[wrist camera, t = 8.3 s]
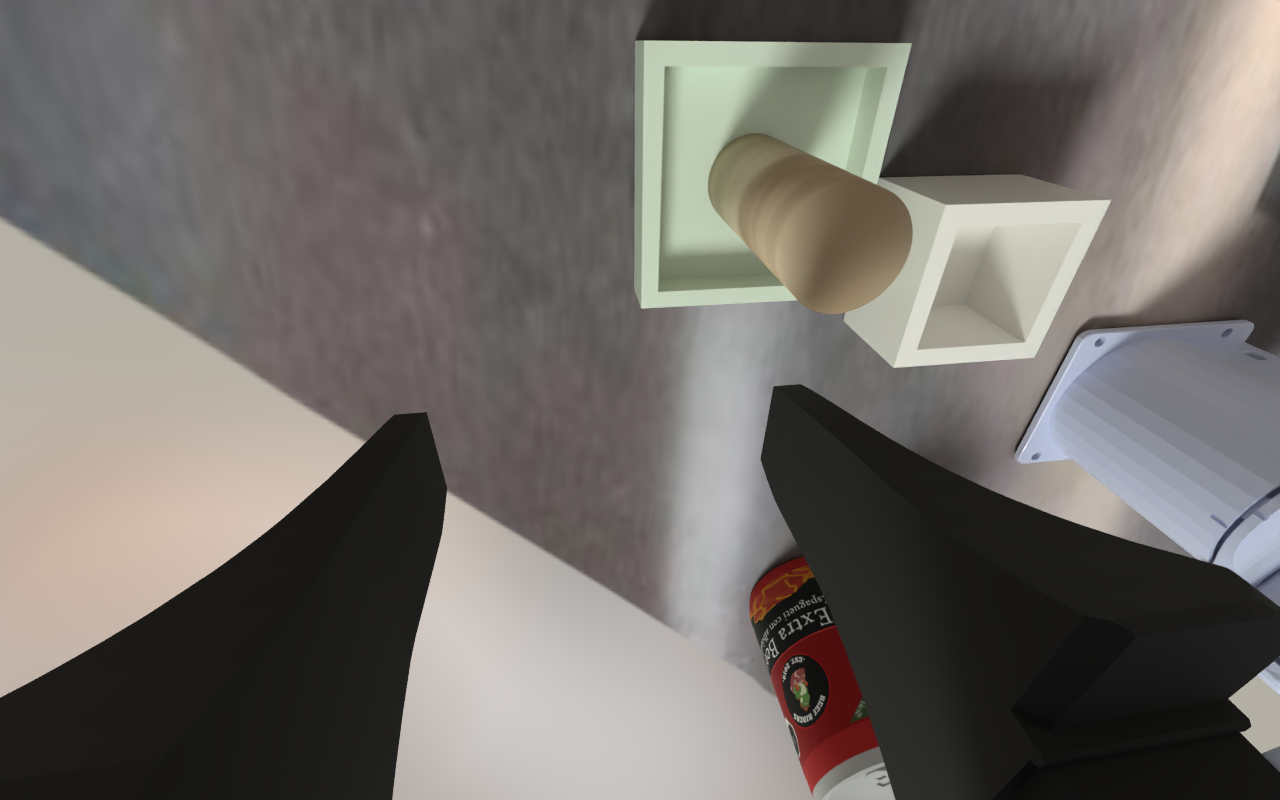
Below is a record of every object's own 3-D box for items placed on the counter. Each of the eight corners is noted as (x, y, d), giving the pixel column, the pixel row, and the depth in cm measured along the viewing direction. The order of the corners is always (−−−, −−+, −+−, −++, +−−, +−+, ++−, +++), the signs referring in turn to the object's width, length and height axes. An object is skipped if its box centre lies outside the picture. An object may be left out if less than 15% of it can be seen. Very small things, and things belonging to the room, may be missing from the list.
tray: (880, 43, 17) (912, 43, 16) (828, 279, 22) (849, 297, 20) (635, 40, 16) (643, 40, 15) (634, 289, 21) (641, 308, 19)
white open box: (1019, 174, 20) (1111, 199, 17) (965, 313, 23) (1034, 357, 20) (878, 177, 19) (945, 205, 16) (843, 320, 23) (893, 367, 19)
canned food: (797, 536, 31) (902, 743, 22) (887, 569, 34) (1012, 761, 25) (720, 613, 34) (783, 821, 25) (809, 636, 37) (894, 828, 28)
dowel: (798, 131, 18) (929, 182, 11) (785, 223, 19) (893, 309, 13) (710, 134, 17) (796, 188, 11) (705, 227, 19) (777, 317, 13)
